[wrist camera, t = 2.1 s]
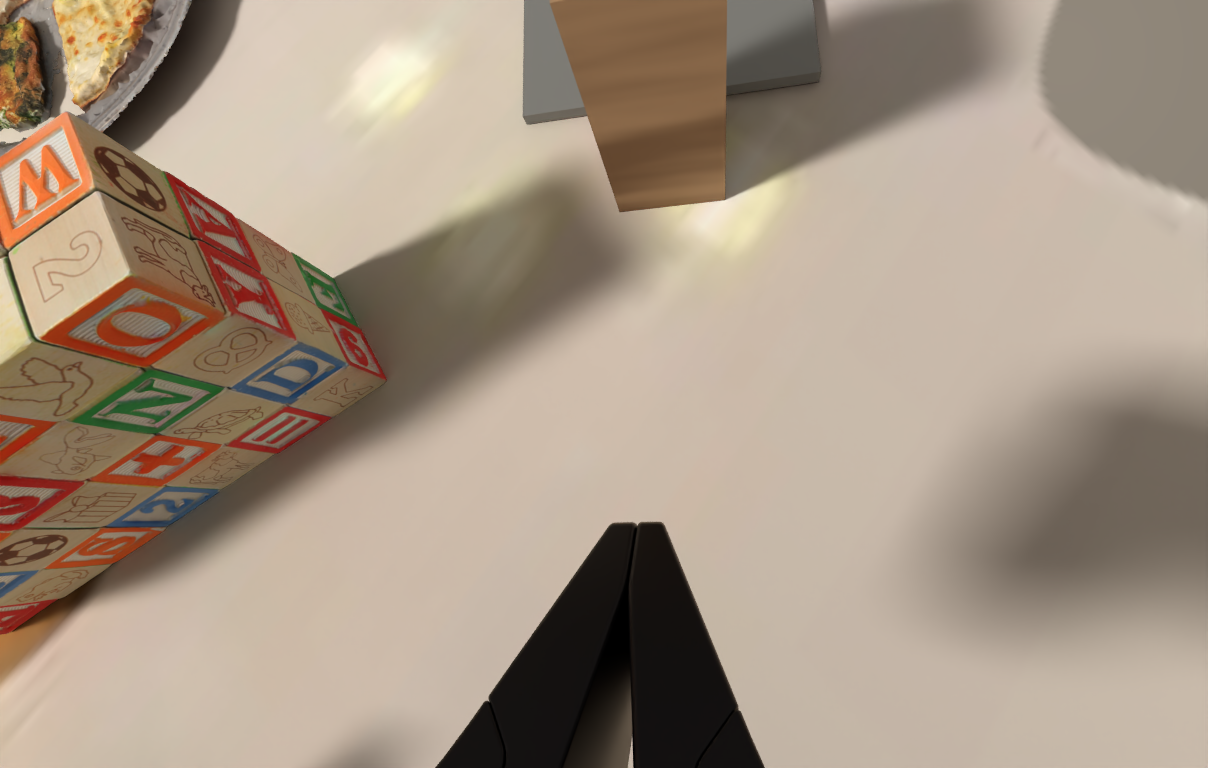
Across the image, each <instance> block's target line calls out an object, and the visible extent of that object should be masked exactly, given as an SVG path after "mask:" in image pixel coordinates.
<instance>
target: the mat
mask: <svg viewBox="0 0 1208 768" xmlns="http://www.w3.org/2000/svg"><path fill="white" fill-rule="evenodd" d="M820 74H821V67H820V58H819V50H818V41H817V33H816V24H815V15H814V7H813V0H727V59H726V95H732V94H739V93H746V92H753V91H760V90H766V89H773V88H780V87H787V86H794V85H801V84H808V83H814V82H819V79H820ZM581 116H587V113H586V110H585V107H584V104H583V101H582V98H581V95H580V92H579V89H578V86H577V83H576V80H575V77H574V74H573V71H572V68H571V65H570V62H569V59H568V56H567V53H566V50H565V47H564V44H563V41H562V38H561V35H560V32H559V29H558V26H557V23H556V20H555V17H554V14H553V11H552V9H551V6H550V0H524V59H523V118H524V120H525V122H526V124H533V123H540V122H547V121H554V120H561V119H568V118H574V117H581Z"/></svg>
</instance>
